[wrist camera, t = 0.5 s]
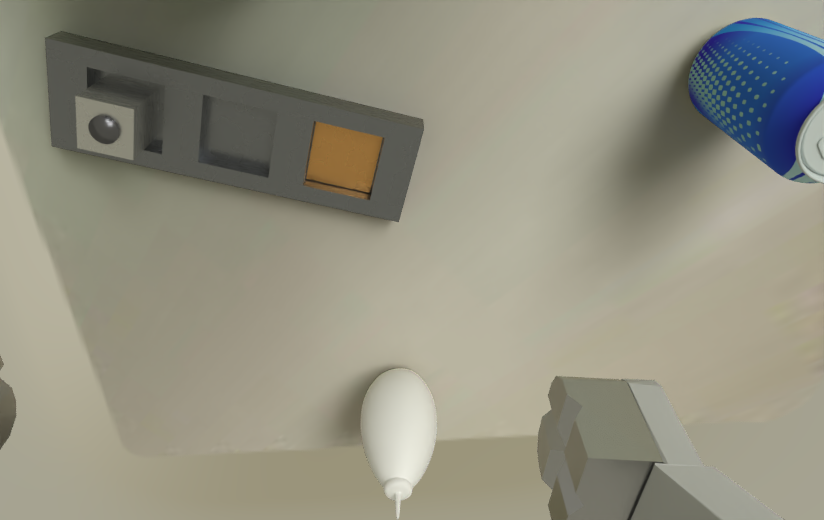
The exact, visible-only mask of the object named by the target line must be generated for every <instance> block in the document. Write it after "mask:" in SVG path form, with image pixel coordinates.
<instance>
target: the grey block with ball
mask: <svg viewBox="0 0 824 520" xmlns="http://www.w3.org/2000/svg"><path fill="white" fill-rule="evenodd" d="M75 101H76V127H77V148H79V149H84V150H88V151H93V152H97V153H102V154H106V155H111V156H115V157H120V158H125V159H129V160H134V159H135V158H136V157H137V156H138V155H139V154H140V153H141V152H142V151H143V150H144V149H145V148H146V147H147V146H148V145H149V144H150V143H151V142H152V141H153V140H154V139H155V138H156V137H157V136H158V114H159V88H156V87H151V86H147V85H143V84H139V83H134V82H130V81H126V80H122V79H117V78H113V77H109V76H106V77H104V78H103V79H101V80H99V81H98V82H96V83H95V84H93V85H92V86H90V87H88V88H87V89H85V90H84V91H82V92H81V93H79V94H77V95H76V96H75Z"/></svg>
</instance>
